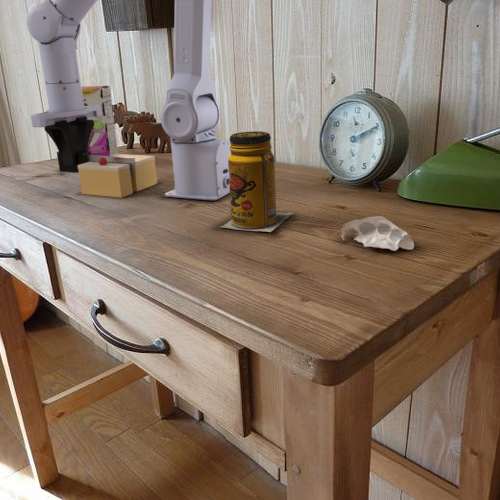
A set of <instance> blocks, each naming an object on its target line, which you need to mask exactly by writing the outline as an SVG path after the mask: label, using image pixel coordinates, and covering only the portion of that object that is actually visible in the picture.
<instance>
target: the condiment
mask: <svg viewBox="0 0 500 500" xmlns="http://www.w3.org/2000/svg"><path fill="white" fill-rule="evenodd" d="M229 137H230V138H229V141H230V142H229V144H230V151H231V154H230V156H229V158H228V166H229V170H228V171H229V183H230V193H229V200H230V201H229V202H230V214H231V220H229V221H227V223H225V224H223V225H221V228H223V229H231V230H239V231H247V232H249V231H250V232H267V233H271V232H273V231H274V230H276V229H277V228H278V227H280V225H282V224H283V223H284V222H285V220H287V219H289V218H290V216H291V215H293V214H294V212H277V198H276V196H277V195H276V193H277V192H276V167H275V164H276V162H275V161H276V160H275V155H274V154H273V151H272V148H273V147H272V144H271V139H272V136H271V134H270V132H266V131H259V130H257V131H253V130H252V131H241V132H236V133H235V132H234V133H231V135H230V136H229Z"/></svg>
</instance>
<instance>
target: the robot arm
mask: <svg viewBox="0 0 500 500" xmlns="http://www.w3.org/2000/svg"><path fill="white" fill-rule="evenodd" d="M97 2H99V0H44V1H41V2H35V3H33V4H31V6H30V8H29V10H28V12H27V15H26V26H27V30H28V32H29V35H31V37H32V38H33V39H34V40H35V41H37V43H38V44H37V45H38V49H39V56H40V61H41V62H40V63H41V69H42V74H43V80H44V85H45V86H44V87H45V90H46V97H47V103H48V109H47V110H46V111H43V112H39V113H35V114H31V115H30V119H31V125H32V128H44V131H45V132H46V133H47V134H48V136H49V137H50V138H51V141H53V144H54V145H55V146H56V148H57V151H58V150H59V152H60V155H61V157H62V159H63V162H64V164H65V165H76V151H87V148H88V142H89V137H90V134H91V131H92V129H93V127H94V120H87V118H90V117H98V116H101V111H100V105H90V106H84V101H83V94H82V87H81V86H82V81H81V75H80V74H81V73H80V68H79V62H78V53H77V50H78V38H79V36H80V33H81V29H82V28H81V23H82V21H84V19H85V18H86V16H87V15H88V13H89V12H90V11H91V10H92V9H93V8H94V7H95V5H96V3H97ZM212 3H213V2H212V0H174V25H173V26H174V29H173V30H174V31H173V33H174V36H173V39H174V40H173V41H174V42H173V50H174V51H173V76H172V78H171V80H170V82H169V84H168V87H167V88H166V98H165V102H164V105H163V106H162V108H161V112H160V123H161V127H162V129H163V131H164V132H165V133H166V135H167V136H168V137H169V139H170V148H171V149H170V150H171V160H172V169H173V180H174V189H171V190H170V191H167V192H165V193H164V197H169V198H178V199H179V198H181V199H190V200H199V201H210V202H211V201H212V202H214V201H217V200H219V199H221V198H223V197H224V196H226V195H229V194H230V183H229V171H228V170H229V166H228V158H229V156H230V154H231V151H230V145H231V144H230V142H228V141H227V140H220V139H218V138H217V136H216V135H217V134H216V131H215V128H216V127H217V125H218V124H219V122H220V119H221V110H220V106H219V103H218V101H217V98H216V97H217V95H216V92H217V91H216V90H217V89H216V86H215V84H214V83H213V81H212V79H211V77H210V60H211V59H210V57H211V32H212V31H211V30H212V29H211V28H212ZM63 87H64V88H63ZM69 116H77V117H71V118H66V119H64V117H69ZM57 119H60V120H57Z"/></svg>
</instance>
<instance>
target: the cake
mask: <svg viewBox="0 0 500 500" xmlns="http://www.w3.org/2000/svg"><path fill="white" fill-rule="evenodd" d="M111 156H115V157H133V158H135V163H136V172H137V175H136V176H133V175H131V182H132V191H133V192H140V191H142V190H145V189H147V188H149V187H152V186H155V185H158V178H157V168H156V160H155V159H156V158H155V155H144V154H142V155H141V154H124V153H118V154H114V155H111Z"/></svg>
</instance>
